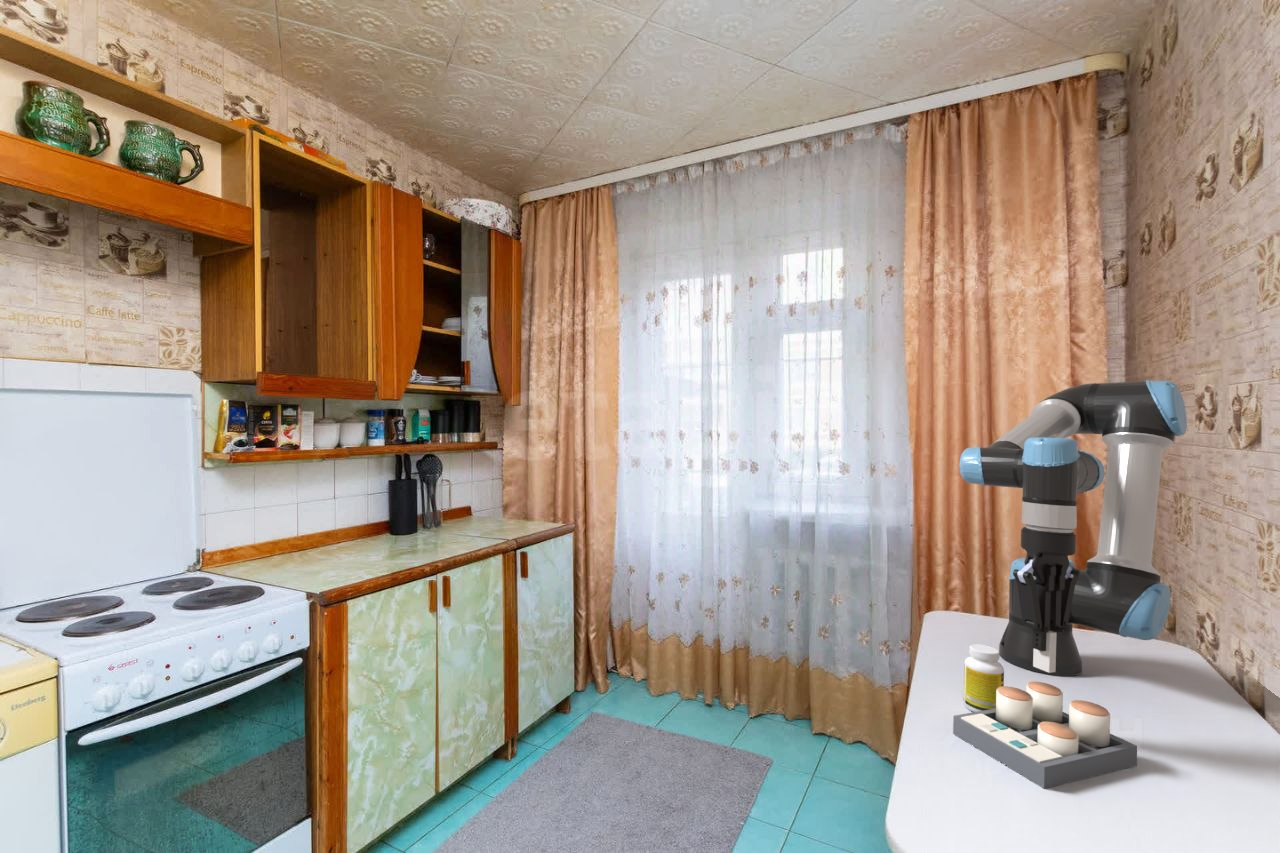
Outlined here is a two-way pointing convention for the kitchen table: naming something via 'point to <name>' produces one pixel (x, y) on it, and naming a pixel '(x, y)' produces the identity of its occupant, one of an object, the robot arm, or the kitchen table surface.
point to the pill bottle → (982, 678)
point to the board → (1041, 750)
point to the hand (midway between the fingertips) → (1044, 668)
